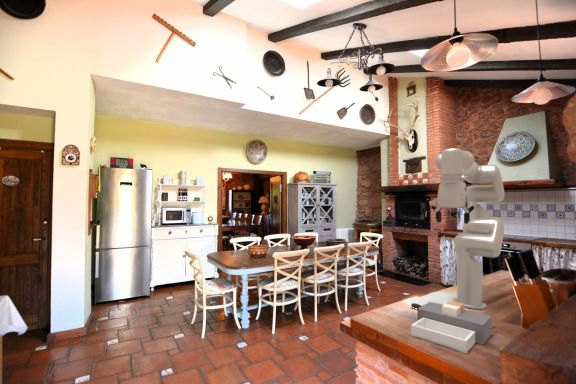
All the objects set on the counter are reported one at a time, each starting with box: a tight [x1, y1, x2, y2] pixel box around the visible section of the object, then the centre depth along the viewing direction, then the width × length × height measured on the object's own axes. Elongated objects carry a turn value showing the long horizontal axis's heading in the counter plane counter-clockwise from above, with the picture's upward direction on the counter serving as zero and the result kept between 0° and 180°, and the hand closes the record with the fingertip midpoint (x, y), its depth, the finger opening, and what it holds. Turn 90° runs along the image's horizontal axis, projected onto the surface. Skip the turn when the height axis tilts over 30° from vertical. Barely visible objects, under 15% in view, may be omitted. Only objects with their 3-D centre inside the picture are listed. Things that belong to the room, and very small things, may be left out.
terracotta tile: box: [446, 300, 466, 313], centre depth 105 cm, size 4×4×2 cm
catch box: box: [410, 318, 477, 354], centre depth 95 cm, size 10×16×4 cm, turn 45°
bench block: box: [417, 301, 493, 346], centre depth 103 cm, size 12×20×6 cm, turn 45°
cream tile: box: [442, 303, 461, 317], centre depth 101 cm, size 4×4×2 cm
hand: (452, 222), depth 117 cm, fingers open, 9 cm apart
